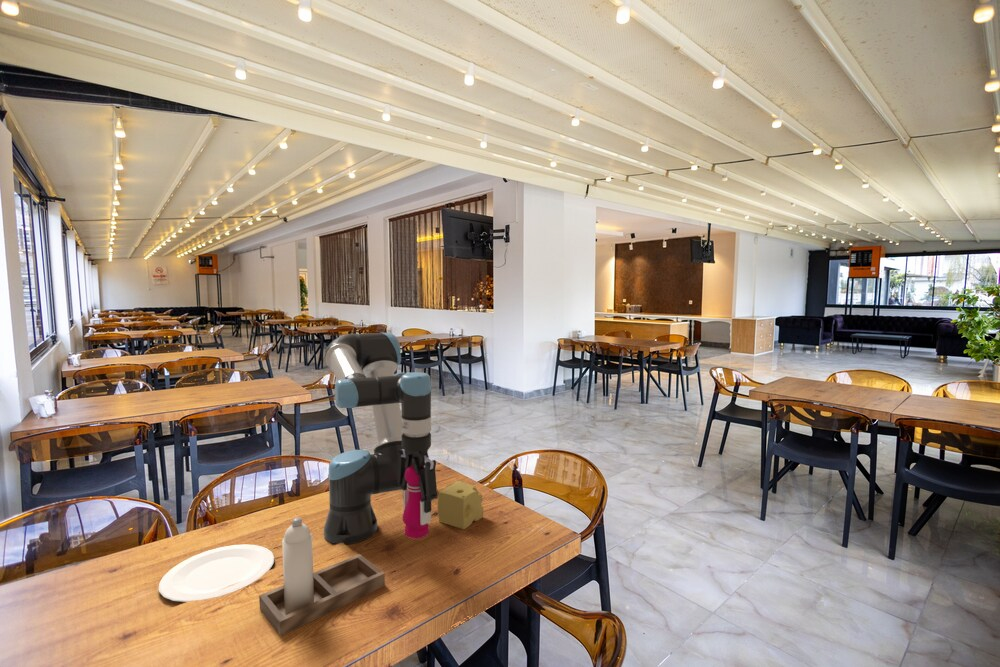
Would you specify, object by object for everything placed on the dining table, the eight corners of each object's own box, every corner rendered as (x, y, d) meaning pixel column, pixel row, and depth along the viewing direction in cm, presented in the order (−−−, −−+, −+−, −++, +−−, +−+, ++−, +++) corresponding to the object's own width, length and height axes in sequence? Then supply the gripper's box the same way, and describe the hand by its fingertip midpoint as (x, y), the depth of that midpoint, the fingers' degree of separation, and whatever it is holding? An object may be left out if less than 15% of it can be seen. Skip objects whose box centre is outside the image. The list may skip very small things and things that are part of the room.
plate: (256, 540, 137) (256, 534, 137) (289, 576, 119) (289, 569, 119) (149, 575, 120) (149, 568, 120) (170, 623, 102) (169, 616, 102)
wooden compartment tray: (280, 641, 96) (279, 621, 96) (259, 613, 105) (259, 595, 104) (384, 590, 113) (384, 573, 113) (359, 569, 122) (359, 554, 121)
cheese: (483, 517, 151) (483, 486, 150) (463, 531, 142) (463, 498, 141) (457, 509, 156) (457, 479, 156) (436, 522, 147) (436, 491, 146)
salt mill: (280, 607, 105) (277, 519, 103) (307, 595, 109) (304, 510, 107) (291, 621, 101) (287, 529, 99) (318, 607, 105) (316, 519, 103)
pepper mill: (424, 541, 122) (424, 465, 120) (398, 537, 123) (397, 463, 121) (434, 527, 129) (434, 455, 127) (409, 524, 130) (408, 453, 128)
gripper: (383, 427, 128) (384, 509, 130) (427, 445, 113) (427, 537, 116) (406, 422, 133) (407, 500, 135) (452, 438, 119) (452, 526, 121)
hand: (416, 517), depth 125 cm, fingers closed on pepper mill, 7 cm apart
